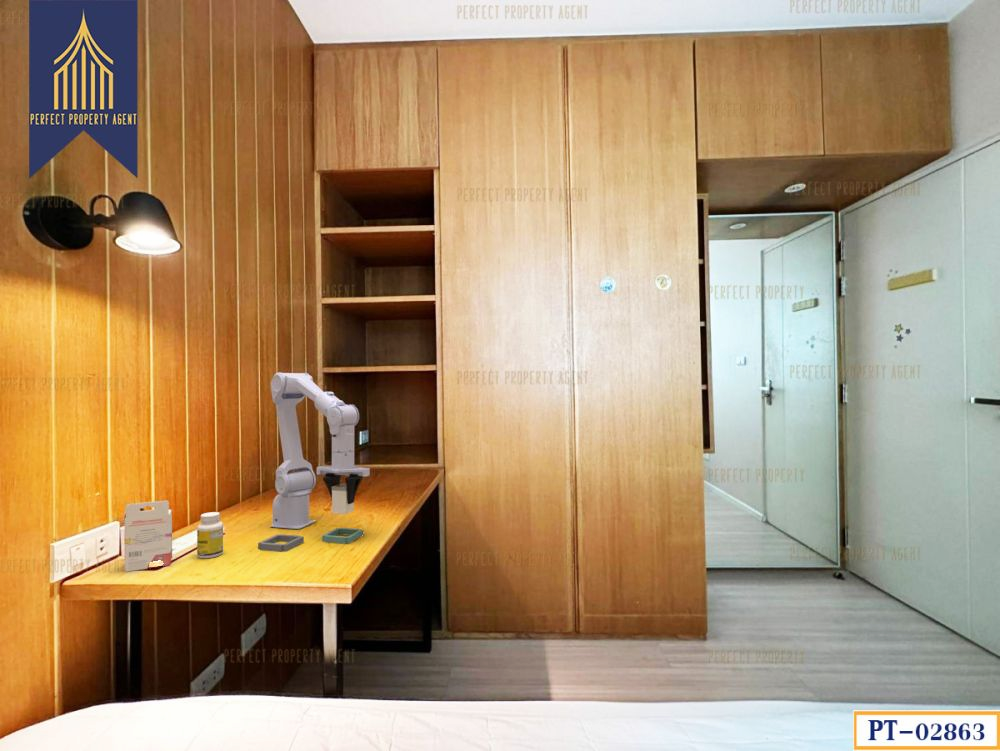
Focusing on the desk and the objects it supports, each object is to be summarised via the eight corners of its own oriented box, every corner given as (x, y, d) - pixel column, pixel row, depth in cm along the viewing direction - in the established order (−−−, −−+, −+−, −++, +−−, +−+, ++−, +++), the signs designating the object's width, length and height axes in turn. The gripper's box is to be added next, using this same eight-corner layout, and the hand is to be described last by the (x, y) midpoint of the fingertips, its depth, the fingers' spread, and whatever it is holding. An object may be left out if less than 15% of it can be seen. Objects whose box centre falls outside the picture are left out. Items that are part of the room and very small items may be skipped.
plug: (331, 513, 133) (331, 486, 133) (340, 509, 137) (340, 483, 137) (345, 514, 132) (345, 487, 132) (353, 510, 136) (353, 484, 136)
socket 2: (320, 541, 131) (320, 536, 131) (337, 532, 139) (337, 527, 139) (348, 544, 129) (348, 538, 129) (364, 534, 137) (364, 529, 137)
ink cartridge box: (172, 559, 119) (173, 495, 119) (170, 566, 114) (170, 500, 114) (127, 565, 115) (128, 500, 115) (123, 572, 110) (123, 504, 110)
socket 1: (256, 549, 125) (256, 543, 125) (278, 539, 133) (278, 533, 133) (284, 551, 123) (284, 545, 123) (304, 541, 131) (305, 536, 131)
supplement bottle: (192, 556, 121) (192, 514, 121) (216, 549, 125) (216, 510, 125) (204, 560, 118) (204, 518, 118) (227, 554, 122) (227, 513, 122)
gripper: (309, 452, 132) (309, 504, 132) (360, 453, 129) (360, 507, 129) (325, 448, 139) (325, 498, 139) (373, 450, 136) (373, 501, 135)
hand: (343, 502), depth 134 cm, fingers closed on plug, 4 cm apart
